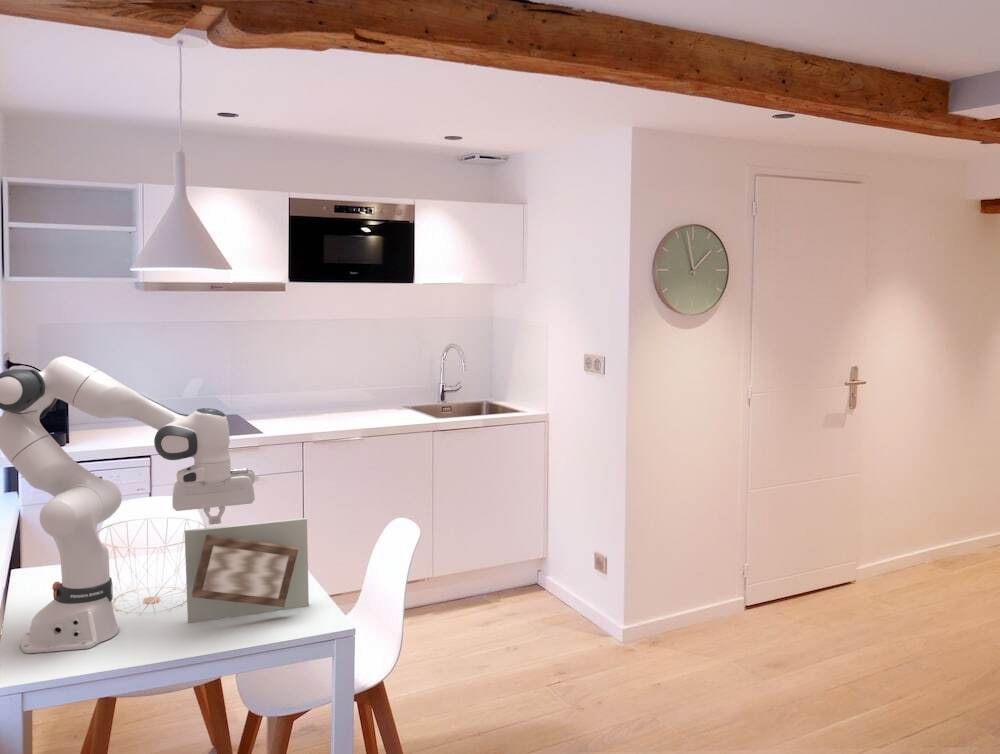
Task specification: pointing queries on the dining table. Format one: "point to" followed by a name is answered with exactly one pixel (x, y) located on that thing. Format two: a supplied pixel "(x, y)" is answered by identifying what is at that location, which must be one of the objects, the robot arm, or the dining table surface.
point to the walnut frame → (244, 571)
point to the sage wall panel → (267, 532)
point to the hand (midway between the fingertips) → (214, 523)
